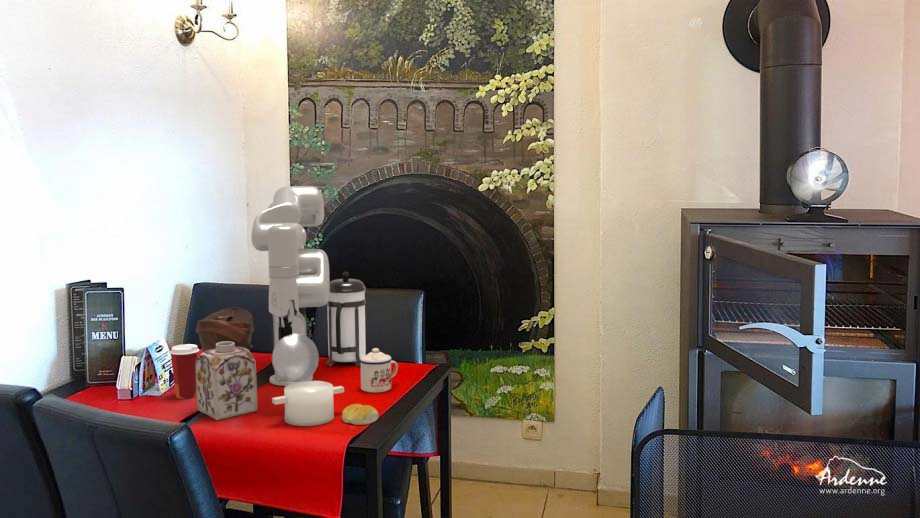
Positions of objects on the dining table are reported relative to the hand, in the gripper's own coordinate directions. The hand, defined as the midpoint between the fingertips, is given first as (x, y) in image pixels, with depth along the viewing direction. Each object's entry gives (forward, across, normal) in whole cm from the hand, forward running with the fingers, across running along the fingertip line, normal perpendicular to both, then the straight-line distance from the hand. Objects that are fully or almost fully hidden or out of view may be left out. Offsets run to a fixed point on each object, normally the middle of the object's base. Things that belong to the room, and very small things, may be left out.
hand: (285, 341), depth 200 cm
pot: (+17, +14, 0) cm, 22 cm away
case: (+17, -51, 0) cm, 54 cm away
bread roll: (+18, +22, +10) cm, 30 cm away
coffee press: (+17, -31, +33) cm, 48 cm away
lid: (+3, +7, 0) cm, 8 cm away
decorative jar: (+18, -4, -15) cm, 23 cm away
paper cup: (+17, -24, -20) cm, 36 cm away
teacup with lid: (+17, 0, +28) cm, 33 cm away
